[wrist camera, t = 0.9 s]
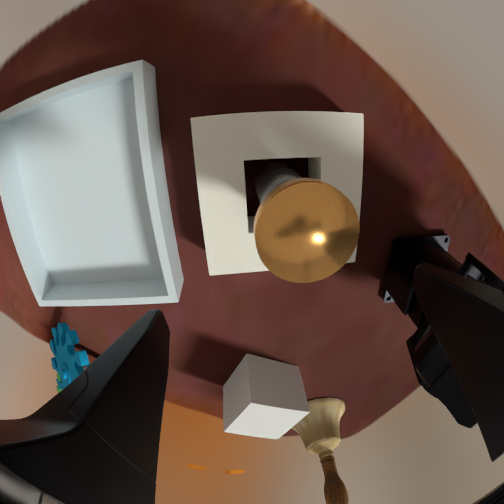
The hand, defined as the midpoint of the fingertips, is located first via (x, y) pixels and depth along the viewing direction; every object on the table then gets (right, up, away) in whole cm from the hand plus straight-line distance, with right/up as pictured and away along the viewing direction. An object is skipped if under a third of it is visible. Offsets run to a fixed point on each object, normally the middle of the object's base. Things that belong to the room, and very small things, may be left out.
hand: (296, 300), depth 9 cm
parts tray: (-14, +6, +9) cm, 18 cm away
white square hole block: (0, +6, +10) cm, 12 cm away
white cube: (-1, -12, +20) cm, 23 cm away
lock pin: (0, +6, +10) cm, 12 cm away
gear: (-20, -9, +17) cm, 27 cm away
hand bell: (+7, -20, +24) cm, 32 cm away
